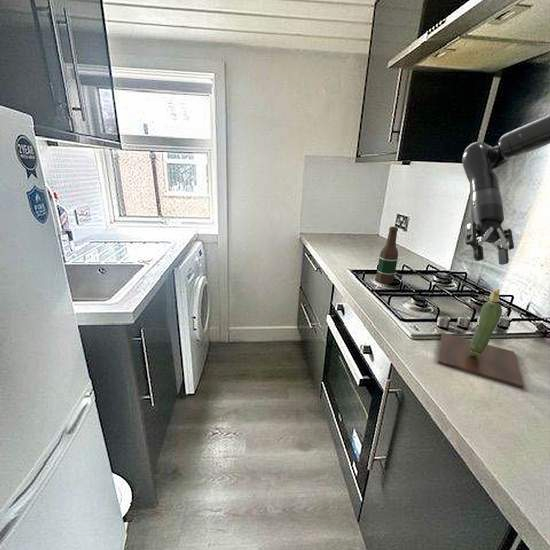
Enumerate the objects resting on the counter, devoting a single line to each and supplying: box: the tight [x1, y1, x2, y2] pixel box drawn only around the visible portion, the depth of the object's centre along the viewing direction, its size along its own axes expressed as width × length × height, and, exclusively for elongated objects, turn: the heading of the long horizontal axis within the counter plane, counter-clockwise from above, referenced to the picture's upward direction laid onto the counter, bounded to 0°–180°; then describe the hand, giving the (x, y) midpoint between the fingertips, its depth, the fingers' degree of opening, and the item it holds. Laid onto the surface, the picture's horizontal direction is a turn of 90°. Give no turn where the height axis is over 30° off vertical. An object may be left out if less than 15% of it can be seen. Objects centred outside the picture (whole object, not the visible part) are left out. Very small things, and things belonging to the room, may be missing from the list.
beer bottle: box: [375, 226, 399, 285], centre depth 128 cm, size 8×8×24 cm
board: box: [437, 332, 524, 389], centre depth 82 cm, size 18×16×1 cm
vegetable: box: [470, 288, 503, 356], centre depth 78 cm, size 4×4×20 cm
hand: (491, 262), depth 83 cm, fingers open, 8 cm apart
